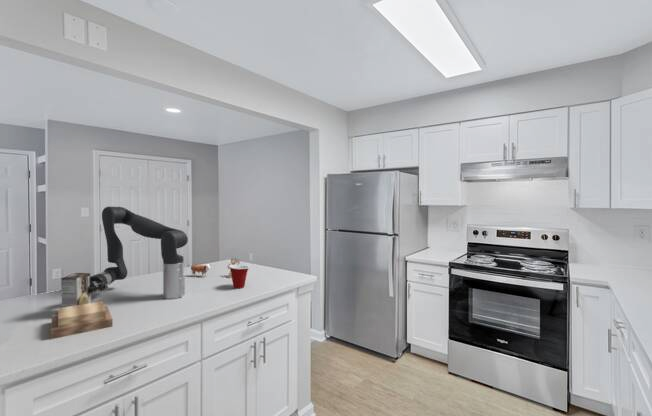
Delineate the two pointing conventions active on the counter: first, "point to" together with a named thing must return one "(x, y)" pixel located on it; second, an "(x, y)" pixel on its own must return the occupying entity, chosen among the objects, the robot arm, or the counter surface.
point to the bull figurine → (200, 269)
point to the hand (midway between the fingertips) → (79, 291)
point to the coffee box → (76, 289)
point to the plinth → (79, 326)
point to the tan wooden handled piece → (229, 267)
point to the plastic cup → (238, 275)
